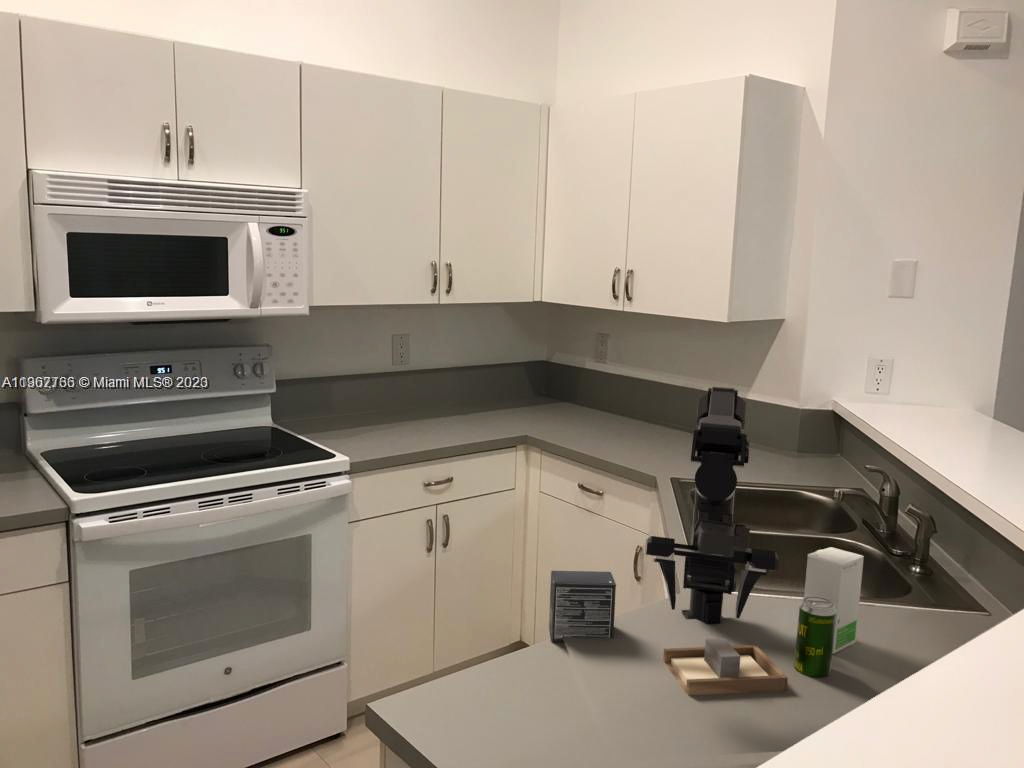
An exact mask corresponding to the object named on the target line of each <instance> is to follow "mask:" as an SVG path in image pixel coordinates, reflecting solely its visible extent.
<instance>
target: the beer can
mask: <svg viewBox="0 0 1024 768" xmlns="http://www.w3.org/2000/svg"><path fill="white" fill-rule="evenodd" d="M835 621H836V609H835V603H833V602H832V601H830V600H828V599H825V598H821V597H815V596H808V597H804V596H803V597H802V599H801V603H800V605H799V610H798V621H797V630H796V631H797V632H796V638H795V639H796V640H795V651H794V660H793V661H794V663H793V667H794V670H795V671H796V672H797V673H799V674H800V675H803V676H805V677H808V678H809V677H810V678H816V679H824V678H827V677H829V676H830V674H831V668H832V659H833V658H832V657H833V654H832V650H833V640H834V631H835Z"/></svg>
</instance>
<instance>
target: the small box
mask: <svg viewBox="0 0 1024 768" xmlns="http://www.w3.org/2000/svg"><path fill="white" fill-rule="evenodd" d="M616 588H617V583H616V581H615V578H614V576H613V573H612V572H611V571H589V570H588V571H587V570H551V571H550V590H549V591H550V592H549V593H550V595H549V613H548V614H549V617H548V618H549V619H548V631H549V637H550V642H551V643H564V644H565V641H564V639H563V638H575V639H578V638H579V639H614V629H615V610H616V608H615V607H616V593H617V591H616V590H617V589H616ZM561 636H562V637H561Z"/></svg>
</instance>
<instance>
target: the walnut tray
mask: <svg viewBox="0 0 1024 768" xmlns="http://www.w3.org/2000/svg"><path fill="white" fill-rule="evenodd" d="M731 646H732V647H733V648H734V650H735V651H736V652H737V653H738V654H739V655H750V656H751V657H752V658H753V659H754V660H755V662H756V663H757V664H758V665H759V666H760V667H761V668H762V669H763V670H764V671H765V672H766V673H767V674H768V675H769V676H750V677H729V678H708V679H687V686H686V684H685V683H684V682H683V680H682V679H681V677H680V676H679V675H678V673H677V672H676V671H675V669H674V668H673V667H672V665H671V658H692V657H704V655H705V646H702V647H701V646H700V647H696V646H695V647H676V648H675V647H674V648H671V647H670V648H663V657H662V662H663V663H664V665H665V666H666V667H667V669H668V670H669V671H670V672H671V674H672V675H673V677H674V678H675V680H676V681H677V682H678V683H679V685H680V686H681V688H682V689H683V690H684V692H685V693H686V694H687V696H699V695H700V696H703V695H719V694H720V695H723V694H742V693H745V694H746V693H760V692H761V693H762V692H763V693H764V692H766V693H767V692H783V691H784V692H786V691H788V690H787V688H788V681H789V679H788V676H787V675H786V674H785V673H784V671H782V670H781V669H780V668H779V667H778V666H777V665H776V664H775V663H774V662H773V661H772V660H771V659H770V658H769V657H768V656H767V655H766V654H765V653H764V652H763V651H762V649H760V647H758V646H757V645H756V644H751V645H750V644H749V645H731Z"/></svg>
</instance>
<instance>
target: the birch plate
mask: <svg viewBox="0 0 1024 768" xmlns="http://www.w3.org/2000/svg"><path fill="white" fill-rule="evenodd" d="M732 646H733V645H731V644H730V643H729V642H728V641H727V640H726V639H725V638H724V637H723V638H722V637H721V638H720V637H719V638H705V644H704V647H705V655H704V657H692V658H671V665H672V667H673V668H674V669H675V671H676V672H677V673H678V675H679V676H680V677H681V679H682V680H683V682H684V683H685V684H686V686H687V679H708V678H729V677H750V676H769V675H768V674H767V673H766V672H765V671H764V670H763V669H762V668H761V667H760V666H759V665H758V664H757V663H756V662H755V660H754V659H753V658H752V657H751V656H750V655H739V654H738V653H737V652H736V651H735V650H734V648H733V647H732Z"/></svg>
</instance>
